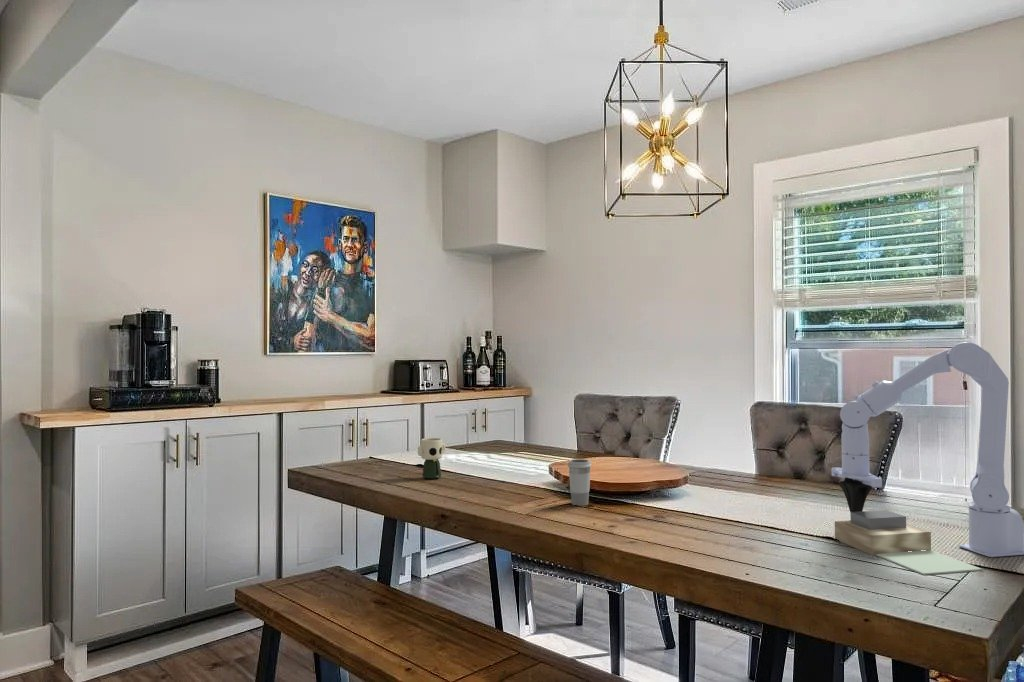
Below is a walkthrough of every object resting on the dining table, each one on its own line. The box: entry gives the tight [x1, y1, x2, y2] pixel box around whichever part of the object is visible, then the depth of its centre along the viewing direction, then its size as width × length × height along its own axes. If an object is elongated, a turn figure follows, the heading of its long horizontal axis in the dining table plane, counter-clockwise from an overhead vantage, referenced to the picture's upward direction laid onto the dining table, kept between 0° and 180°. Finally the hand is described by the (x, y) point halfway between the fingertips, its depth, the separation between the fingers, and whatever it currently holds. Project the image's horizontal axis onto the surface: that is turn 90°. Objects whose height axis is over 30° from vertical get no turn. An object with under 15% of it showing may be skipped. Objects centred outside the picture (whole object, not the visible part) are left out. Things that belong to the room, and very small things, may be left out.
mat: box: [875, 549, 983, 576], centre depth 138 cm, size 13×12×1 cm
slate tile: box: [850, 509, 907, 530], centre depth 152 cm, size 9×6×2 cm, turn 101°
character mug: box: [417, 437, 446, 479], centre depth 230 cm, size 11×7×13 cm, turn 133°
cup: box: [566, 458, 593, 507], centre depth 191 cm, size 7×7×12 cm
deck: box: [834, 519, 932, 556], centre depth 151 cm, size 14×12×4 cm
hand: (856, 513), depth 158 cm, fingers closed
